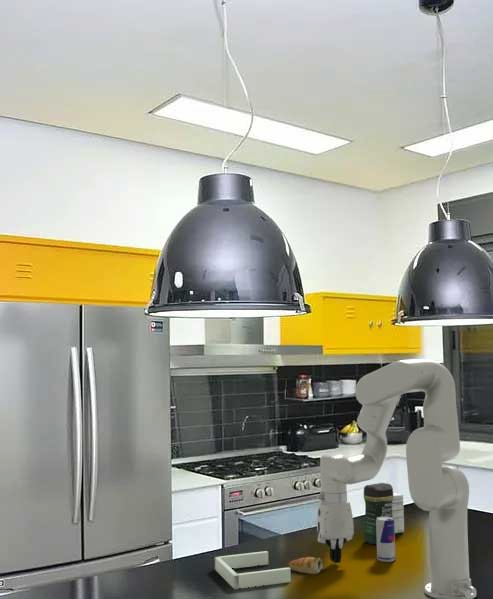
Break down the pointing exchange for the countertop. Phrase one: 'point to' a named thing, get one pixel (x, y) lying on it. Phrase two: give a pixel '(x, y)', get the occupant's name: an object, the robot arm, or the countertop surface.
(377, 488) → the coffee jar
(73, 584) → the countertop surface
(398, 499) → the supplement box
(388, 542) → the energy drink
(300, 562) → the pastry
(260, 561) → the c-shaped clip
